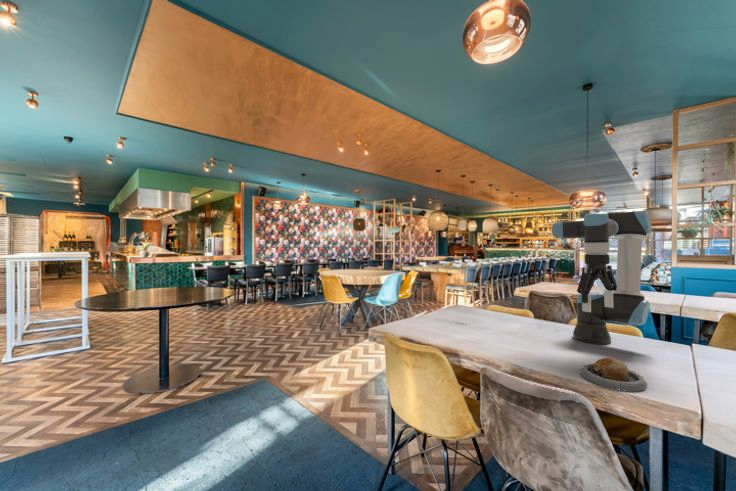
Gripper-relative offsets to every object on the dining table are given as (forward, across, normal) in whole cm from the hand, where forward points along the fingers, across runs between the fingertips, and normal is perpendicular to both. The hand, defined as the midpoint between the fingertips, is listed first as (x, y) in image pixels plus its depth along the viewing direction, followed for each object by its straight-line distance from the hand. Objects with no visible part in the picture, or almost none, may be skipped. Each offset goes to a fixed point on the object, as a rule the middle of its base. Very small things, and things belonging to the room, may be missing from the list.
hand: (598, 309), depth 115 cm
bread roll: (+21, +7, +8) cm, 24 cm away
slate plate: (+22, +7, +8) cm, 24 cm away
